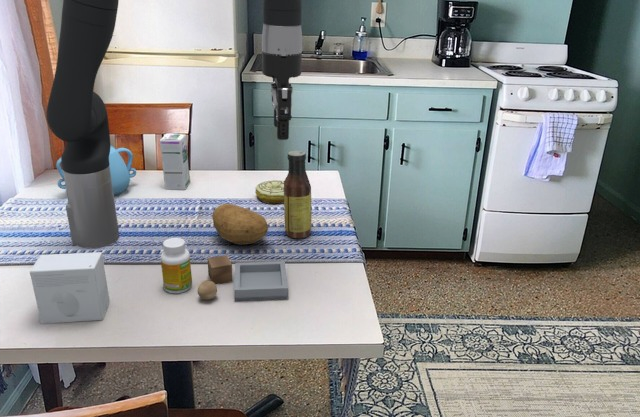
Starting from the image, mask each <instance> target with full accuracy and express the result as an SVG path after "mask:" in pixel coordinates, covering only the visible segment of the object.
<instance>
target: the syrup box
mask: <svg viewBox="0 0 640 417" xmlns="http://www.w3.org/2000/svg"><path fill="white" fill-rule="evenodd" d="M187 144H188V143H187V134H185V133H180V132H178V133H177V132H175V133H172V132H171V133H165V135H163V136H162V137H161V138H160V140H159V145H160V146H159V147H160V153H161V154H160V155H161V164H162V172H163V182H164V189H165V190H168V191H169V190H171V191H172V190H173V191H185V190H187V188H188V186H189V185H190V183H191V176H190V166H189V165H190V163H189V154H188V145H187Z"/></svg>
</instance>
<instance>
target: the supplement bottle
mask: <svg viewBox="0 0 640 417" xmlns="http://www.w3.org/2000/svg"><path fill="white" fill-rule="evenodd" d="M162 247H163V251H162V253H161V254H160V265H161V274H162V284H163V289H164V291H166V292H167V293H170V294H181V293H186V292H187V291H189V290H190V289H191V288H192V285H193V279H192V278H193V277H192V265H191V255H190V252H189V250H188V249H186V241H185V240H184V239H183V238H180V237H171V238H170V237H169V238H167V239H166V240H165V239H164V241H163V243H162Z"/></svg>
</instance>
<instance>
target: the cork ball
mask: <svg viewBox="0 0 640 417" xmlns="http://www.w3.org/2000/svg"><path fill="white" fill-rule="evenodd" d="M217 293H218V287H217V284H215V283H214V282H212V281H211V280H210V279H209V280H203V281H201V282H200V283H199V284H198V286H197V295H198V296H199V297H200V298H201V299H202V300H204V301H208V300H213V299H214V298H215V297H216V295H217Z"/></svg>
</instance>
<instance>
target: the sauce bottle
mask: <svg viewBox="0 0 640 417" xmlns="http://www.w3.org/2000/svg"><path fill="white" fill-rule="evenodd" d="M306 160H307V154H306V152H305V151H303V150H290V151H288V152H287V161H288V169H287V170H288V172H287V175H286V177H285V178H284V180H283V181H284V203H283V208H284V213H283V214H284V216H283V218H284V229H285V230H284V232H285V234H286V236H288V237H289V238H292V239H298V240H299V239H304V238H307V237H309V236H310V235H311V233H312V186H311V183H310V180H309V177H308V174H307V171H306Z"/></svg>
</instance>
